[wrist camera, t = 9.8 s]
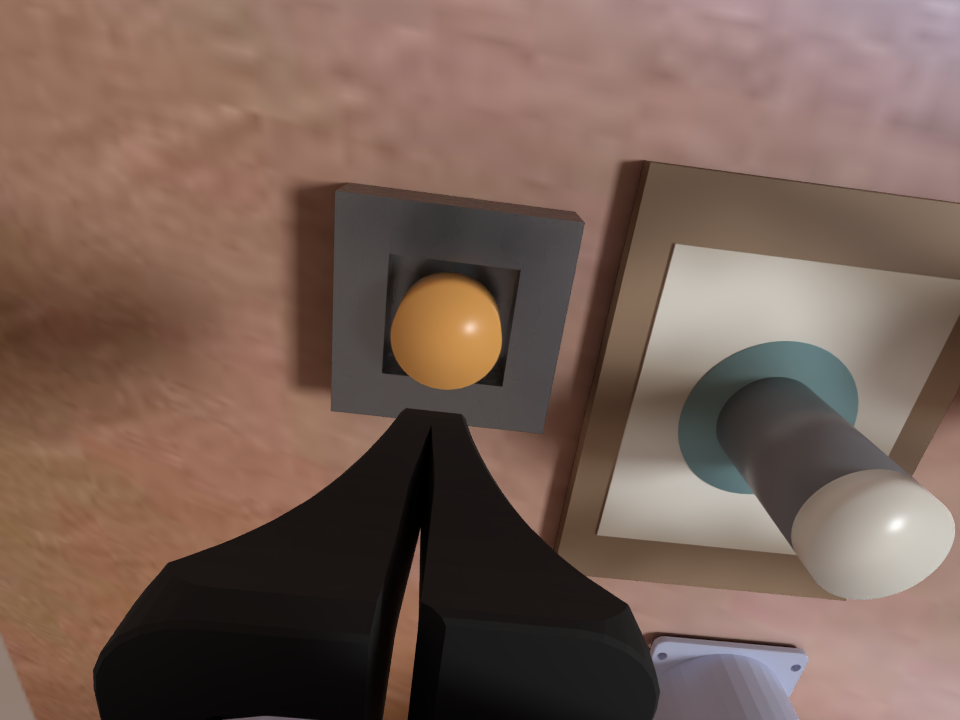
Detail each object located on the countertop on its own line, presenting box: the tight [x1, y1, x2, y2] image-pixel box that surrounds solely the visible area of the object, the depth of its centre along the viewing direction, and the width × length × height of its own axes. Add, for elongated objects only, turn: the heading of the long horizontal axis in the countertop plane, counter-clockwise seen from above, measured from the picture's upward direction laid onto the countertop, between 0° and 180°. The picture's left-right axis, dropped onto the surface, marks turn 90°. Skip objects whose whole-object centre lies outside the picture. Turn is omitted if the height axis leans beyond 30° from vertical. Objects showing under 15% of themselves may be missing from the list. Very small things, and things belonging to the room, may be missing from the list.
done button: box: [391, 272, 502, 390], centre depth 19 cm, size 4×4×2 cm
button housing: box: [331, 183, 585, 434], centre depth 21 cm, size 8×8×2 cm
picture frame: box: [554, 160, 960, 601], centre depth 23 cm, size 18×14×1 cm
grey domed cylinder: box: [716, 377, 955, 600], centre depth 19 cm, size 4×4×7 cm
